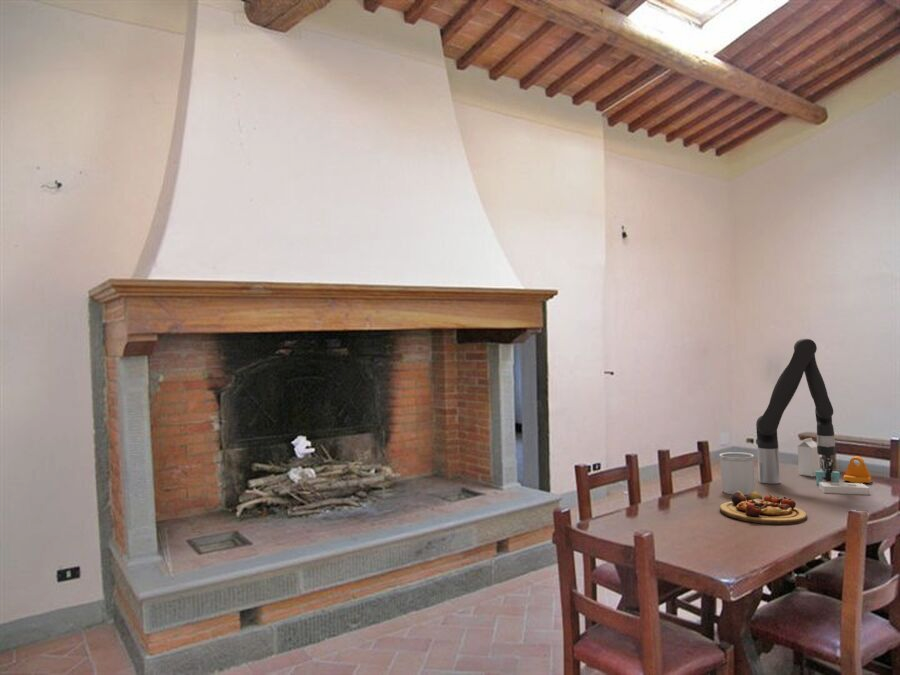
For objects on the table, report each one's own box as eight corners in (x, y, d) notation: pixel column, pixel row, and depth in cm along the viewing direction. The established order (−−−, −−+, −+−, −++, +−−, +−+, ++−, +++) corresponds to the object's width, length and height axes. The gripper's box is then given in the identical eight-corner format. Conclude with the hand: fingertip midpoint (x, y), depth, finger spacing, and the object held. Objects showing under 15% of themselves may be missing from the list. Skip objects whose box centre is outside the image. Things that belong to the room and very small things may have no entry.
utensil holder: (722, 494, 283) (721, 457, 284) (719, 487, 297) (717, 451, 298) (757, 496, 279) (756, 457, 279) (752, 488, 293) (751, 452, 293)
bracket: (843, 482, 300) (842, 457, 301) (845, 479, 306) (844, 455, 306) (869, 484, 293) (868, 459, 294) (871, 481, 299) (870, 457, 299)
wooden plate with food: (779, 531, 228) (779, 509, 228) (703, 512, 255) (703, 492, 255) (822, 517, 246) (822, 497, 246) (747, 501, 272) (746, 483, 272)
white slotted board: (823, 492, 280) (823, 486, 280) (819, 488, 289) (818, 482, 289) (869, 494, 274) (869, 487, 274) (863, 490, 283) (863, 483, 283)
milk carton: (820, 475, 316) (818, 438, 317) (812, 477, 313) (810, 439, 313) (806, 473, 323) (805, 437, 323) (798, 474, 319) (797, 438, 319)
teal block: (816, 485, 295) (816, 471, 295) (815, 483, 298) (814, 470, 298) (840, 486, 292) (839, 472, 292) (838, 484, 295) (838, 471, 295)
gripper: (813, 442, 303) (815, 477, 303) (820, 446, 290) (822, 483, 290) (830, 442, 301) (832, 477, 300) (838, 447, 288) (840, 483, 287)
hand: (827, 480), depth 295 cm, fingers closed on teal block, 3 cm apart
